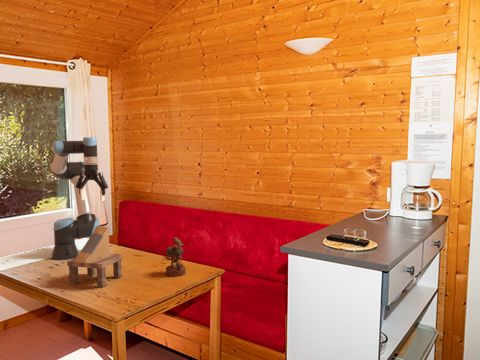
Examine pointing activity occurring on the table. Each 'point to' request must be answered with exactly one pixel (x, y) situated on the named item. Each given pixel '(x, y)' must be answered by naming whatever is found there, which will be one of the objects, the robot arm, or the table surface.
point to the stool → (96, 268)
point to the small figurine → (175, 260)
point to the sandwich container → (95, 246)
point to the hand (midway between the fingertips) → (92, 200)
